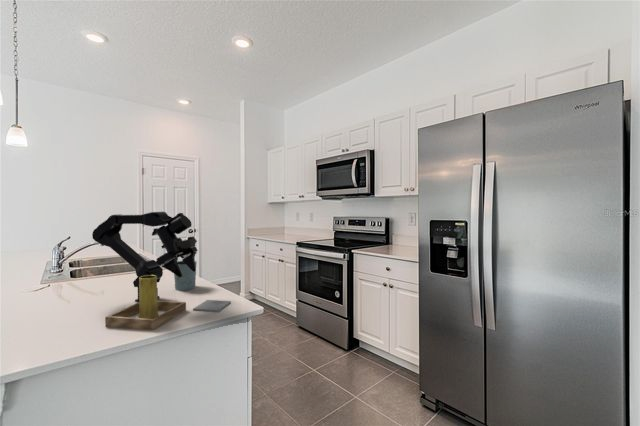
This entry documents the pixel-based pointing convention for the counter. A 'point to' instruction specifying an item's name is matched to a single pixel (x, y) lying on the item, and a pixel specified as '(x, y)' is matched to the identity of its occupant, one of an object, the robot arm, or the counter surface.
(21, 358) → the counter surface
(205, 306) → the slate mat
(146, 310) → the vase
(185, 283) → the grey-blue cup
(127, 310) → the wooden frame
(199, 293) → the counter surface
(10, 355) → the counter surface
